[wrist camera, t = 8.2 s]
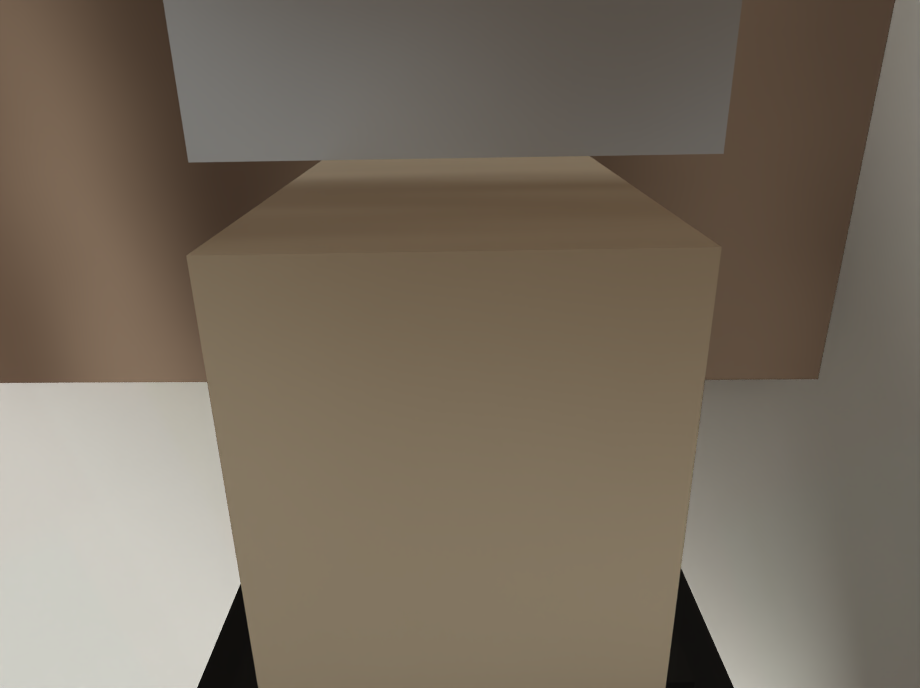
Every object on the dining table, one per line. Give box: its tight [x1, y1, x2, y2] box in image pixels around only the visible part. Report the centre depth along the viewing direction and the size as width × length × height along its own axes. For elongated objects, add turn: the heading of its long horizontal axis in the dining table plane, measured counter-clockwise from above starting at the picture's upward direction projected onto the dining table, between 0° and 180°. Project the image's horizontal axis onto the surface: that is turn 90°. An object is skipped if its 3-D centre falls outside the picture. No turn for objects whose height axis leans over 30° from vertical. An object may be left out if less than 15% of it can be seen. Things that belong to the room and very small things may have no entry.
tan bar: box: [163, 0, 742, 688], centre depth 7 cm, size 18×6×5 cm, turn 1°
